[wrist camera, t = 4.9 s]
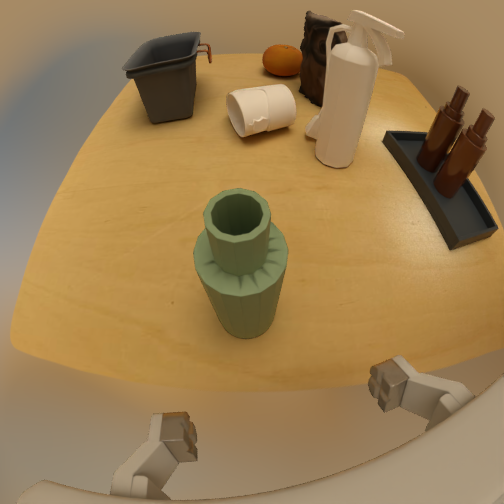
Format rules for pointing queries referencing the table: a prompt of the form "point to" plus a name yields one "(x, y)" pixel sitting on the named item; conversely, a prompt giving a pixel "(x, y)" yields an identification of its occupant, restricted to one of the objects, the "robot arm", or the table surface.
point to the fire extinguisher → (349, 87)
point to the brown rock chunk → (316, 55)
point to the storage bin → (167, 75)
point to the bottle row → (464, 149)
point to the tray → (441, 208)
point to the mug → (261, 109)
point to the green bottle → (241, 261)
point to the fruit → (282, 60)
